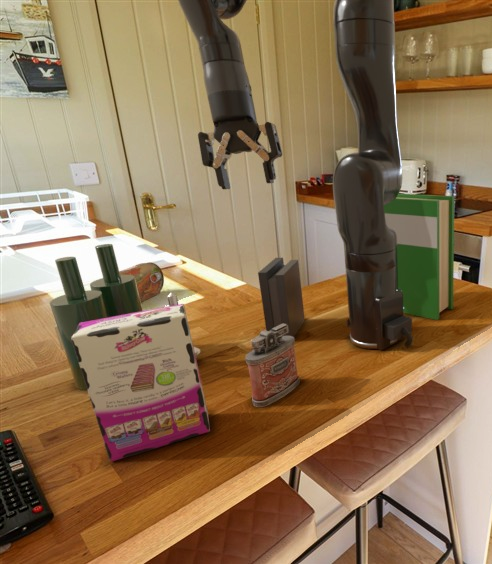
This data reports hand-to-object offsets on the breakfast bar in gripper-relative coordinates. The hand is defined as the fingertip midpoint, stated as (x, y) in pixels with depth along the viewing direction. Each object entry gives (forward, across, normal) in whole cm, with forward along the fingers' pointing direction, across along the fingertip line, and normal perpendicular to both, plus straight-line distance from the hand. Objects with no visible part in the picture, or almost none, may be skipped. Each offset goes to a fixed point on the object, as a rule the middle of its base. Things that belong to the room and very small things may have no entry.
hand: (248, 186), depth 79 cm
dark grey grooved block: (+28, +2, -1) cm, 28 cm away
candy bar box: (+31, -5, -32) cm, 45 cm away
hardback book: (+30, +26, +11) cm, 41 cm away
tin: (+22, -39, +16) cm, 48 cm away
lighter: (+31, +7, -23) cm, 39 cm away
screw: (+28, -11, -15) cm, 34 cm away
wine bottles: (+27, -23, -15) cm, 38 cm away
